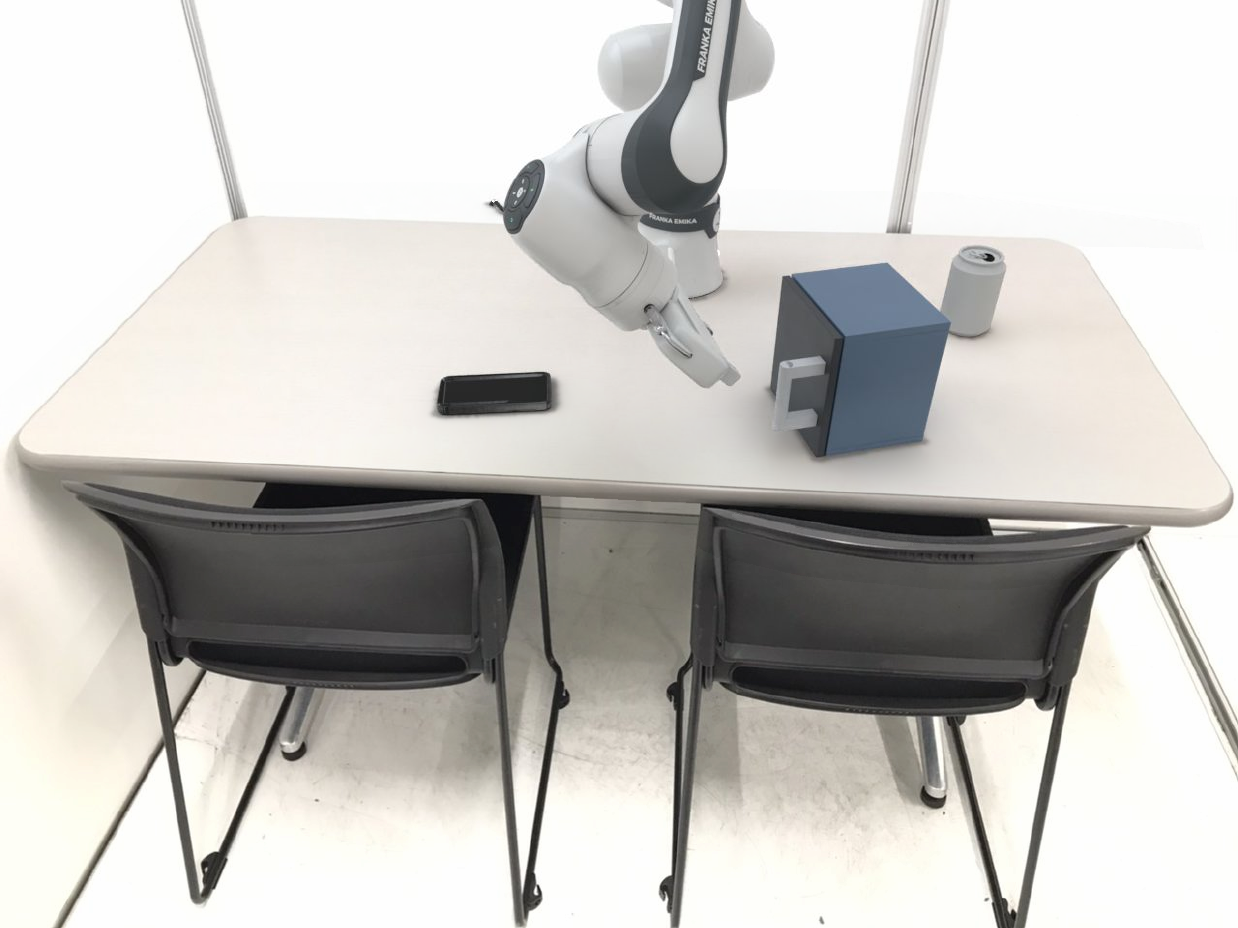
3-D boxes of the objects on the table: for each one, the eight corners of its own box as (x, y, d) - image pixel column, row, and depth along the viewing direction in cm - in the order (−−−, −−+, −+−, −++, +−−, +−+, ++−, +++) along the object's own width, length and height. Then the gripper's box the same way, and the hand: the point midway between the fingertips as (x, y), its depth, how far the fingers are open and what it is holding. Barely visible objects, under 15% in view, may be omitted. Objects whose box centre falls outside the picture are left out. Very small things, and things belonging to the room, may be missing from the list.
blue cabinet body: (825, 456, 112) (845, 336, 101) (778, 387, 124) (791, 273, 114) (922, 441, 114) (951, 322, 104) (866, 375, 126) (887, 262, 116)
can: (992, 341, 133) (1013, 266, 126) (939, 337, 134) (956, 262, 127) (986, 317, 139) (1006, 243, 132) (935, 312, 140) (952, 239, 133)
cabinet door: (775, 463, 111) (790, 344, 100) (732, 393, 123) (741, 280, 113) (824, 456, 112) (843, 337, 101) (776, 387, 124) (789, 275, 114)
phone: (441, 376, 125) (550, 371, 126) (442, 383, 126) (551, 377, 126) (436, 408, 119) (550, 402, 119) (437, 415, 119) (551, 410, 120)
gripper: (685, 312, 85) (774, 386, 93) (633, 225, 101) (712, 295, 108) (639, 359, 87) (729, 428, 95) (594, 267, 103) (675, 332, 110)
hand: (720, 356), depth 102 cm, fingers open, 8 cm apart
